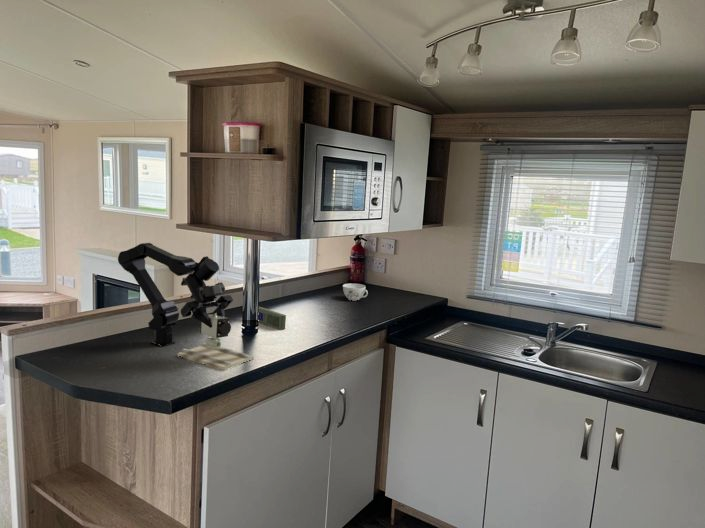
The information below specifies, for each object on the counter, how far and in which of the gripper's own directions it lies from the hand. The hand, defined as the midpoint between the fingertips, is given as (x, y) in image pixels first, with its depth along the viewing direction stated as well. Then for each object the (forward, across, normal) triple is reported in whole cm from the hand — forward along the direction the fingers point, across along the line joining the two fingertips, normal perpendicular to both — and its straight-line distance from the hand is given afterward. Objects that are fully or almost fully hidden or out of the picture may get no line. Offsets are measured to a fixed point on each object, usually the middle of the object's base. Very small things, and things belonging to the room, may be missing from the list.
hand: (218, 325), depth 173 cm
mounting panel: (+8, 0, +9) cm, 12 cm away
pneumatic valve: (+5, -1, +6) cm, 8 cm away
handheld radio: (-6, +43, +23) cm, 50 cm away
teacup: (-6, +112, +23) cm, 114 cm away
